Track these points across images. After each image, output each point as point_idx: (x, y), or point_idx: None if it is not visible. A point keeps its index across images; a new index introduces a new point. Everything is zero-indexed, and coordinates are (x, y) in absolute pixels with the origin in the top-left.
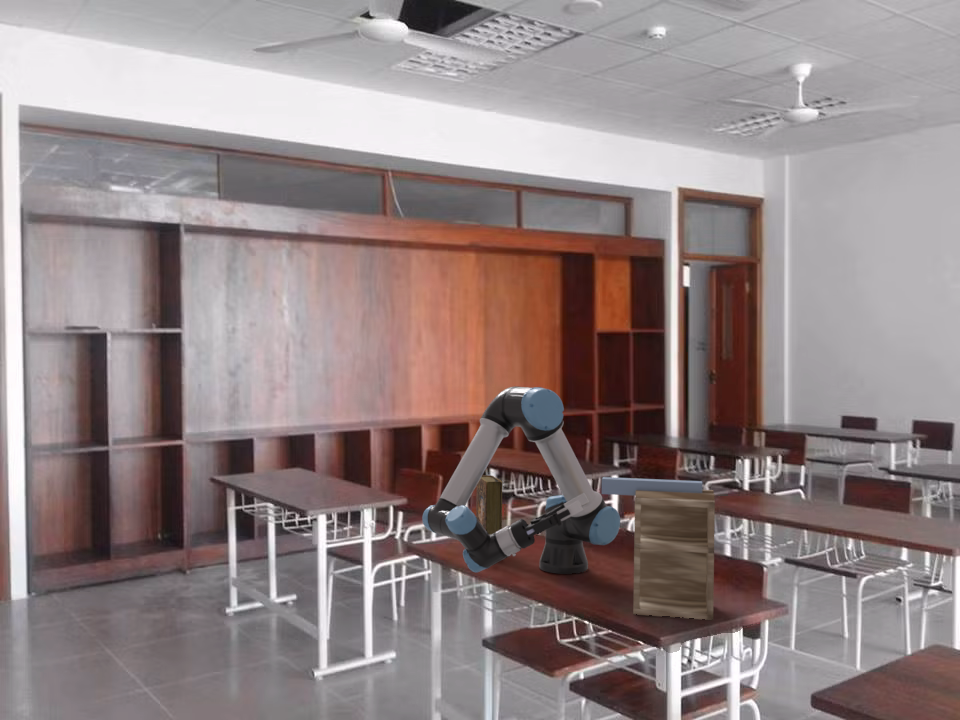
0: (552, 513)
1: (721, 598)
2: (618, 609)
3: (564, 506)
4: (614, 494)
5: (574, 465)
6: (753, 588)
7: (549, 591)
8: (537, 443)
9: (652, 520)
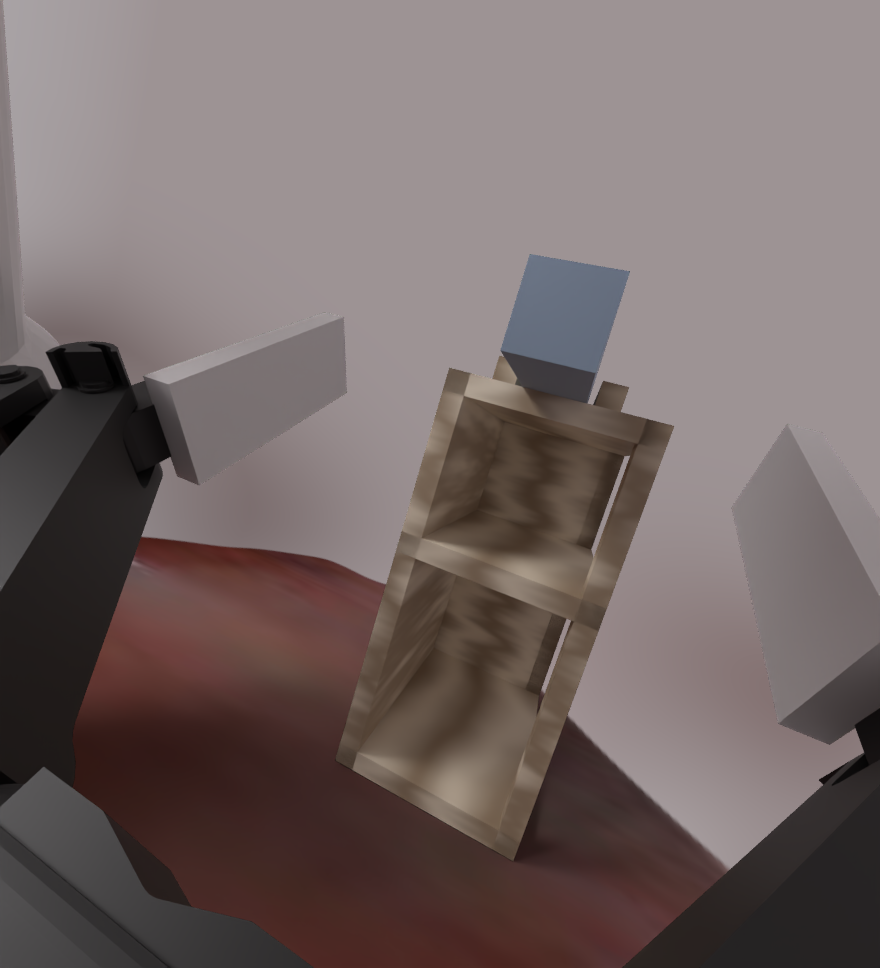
0: (59, 546)
1: (372, 613)
2: (446, 889)
3: (145, 410)
4: (590, 386)
5: None
6: (324, 560)
7: None
8: None
9: (453, 482)
